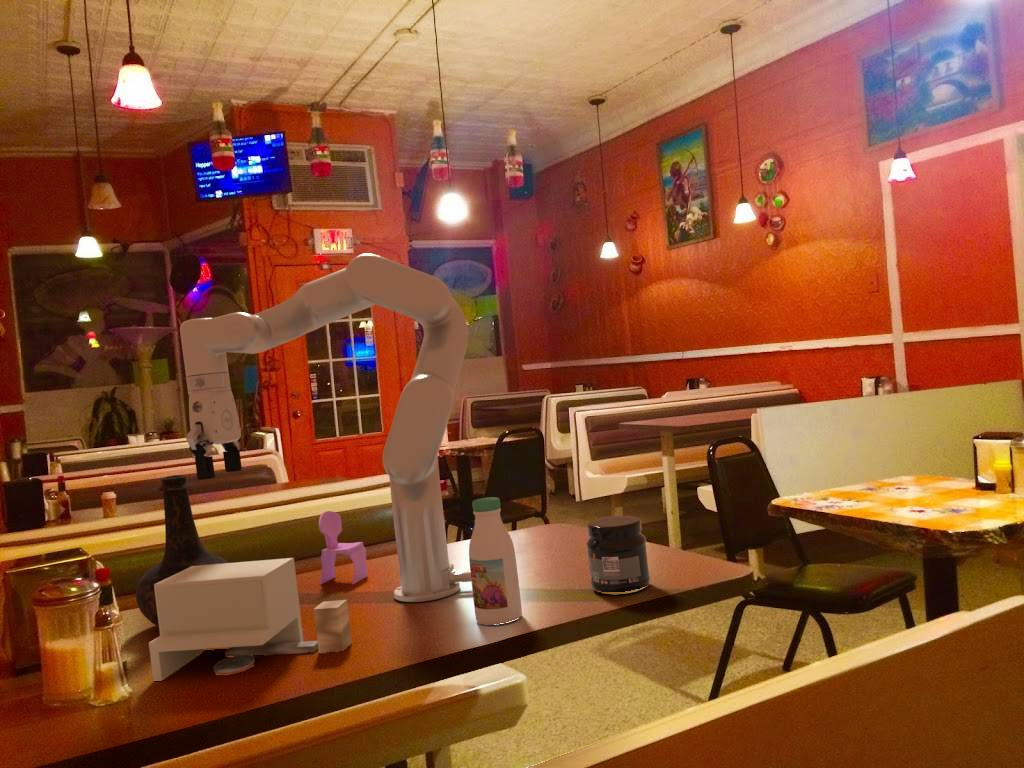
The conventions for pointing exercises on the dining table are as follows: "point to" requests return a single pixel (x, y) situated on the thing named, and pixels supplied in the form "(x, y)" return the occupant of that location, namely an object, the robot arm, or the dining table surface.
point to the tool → (328, 628)
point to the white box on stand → (224, 610)
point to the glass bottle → (174, 545)
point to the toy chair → (339, 549)
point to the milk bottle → (493, 566)
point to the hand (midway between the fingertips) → (220, 475)
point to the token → (234, 664)
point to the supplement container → (617, 554)
